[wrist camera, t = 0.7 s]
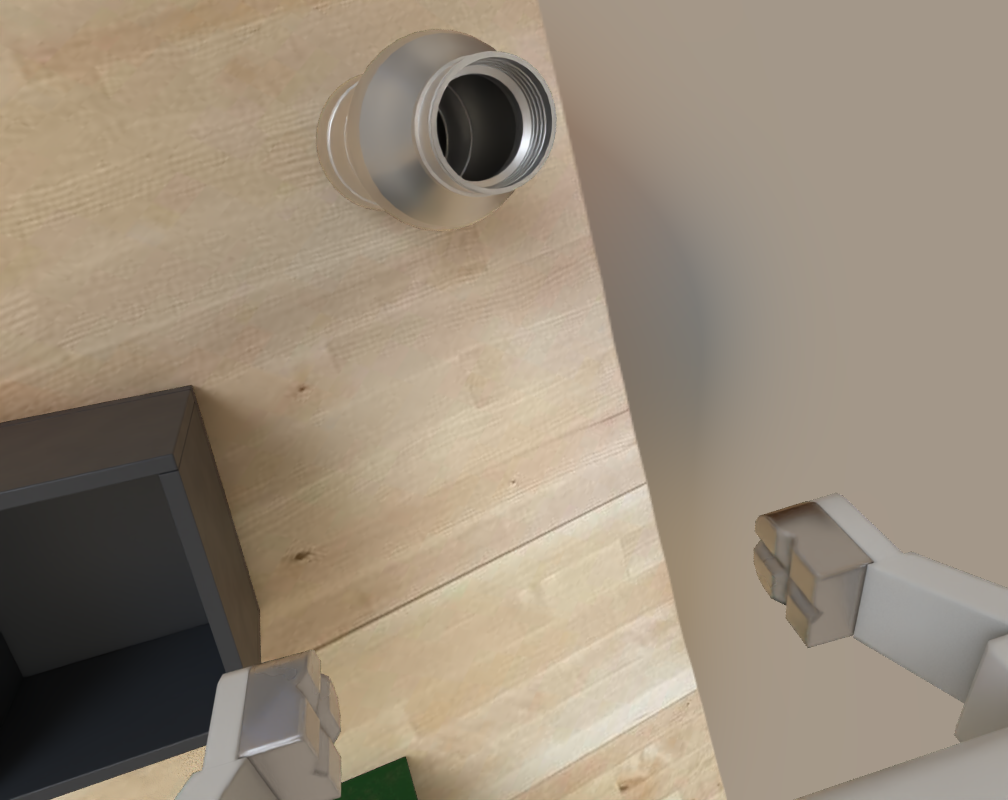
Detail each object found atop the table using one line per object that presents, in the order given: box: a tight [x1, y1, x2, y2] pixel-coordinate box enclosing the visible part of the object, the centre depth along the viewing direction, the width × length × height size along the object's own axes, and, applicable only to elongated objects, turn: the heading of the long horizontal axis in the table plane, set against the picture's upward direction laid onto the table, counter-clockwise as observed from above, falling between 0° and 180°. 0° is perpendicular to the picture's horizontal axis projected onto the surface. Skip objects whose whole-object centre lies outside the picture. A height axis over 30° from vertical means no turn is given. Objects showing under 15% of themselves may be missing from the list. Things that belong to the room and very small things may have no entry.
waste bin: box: [0, 385, 261, 800], centre depth 33 cm, size 16×14×10 cm
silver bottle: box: [316, 29, 557, 231], centre depth 26 cm, size 6×7×20 cm
